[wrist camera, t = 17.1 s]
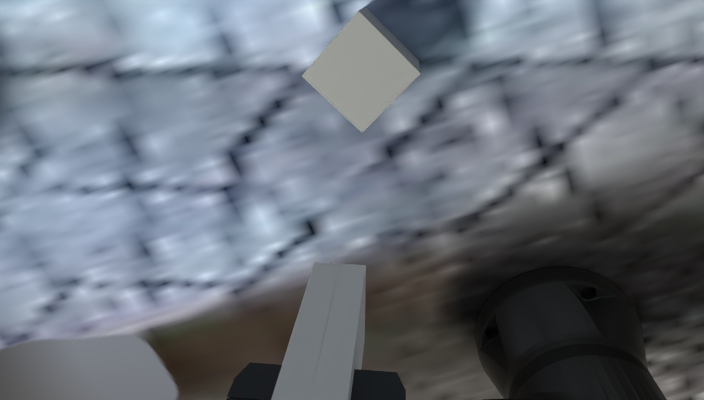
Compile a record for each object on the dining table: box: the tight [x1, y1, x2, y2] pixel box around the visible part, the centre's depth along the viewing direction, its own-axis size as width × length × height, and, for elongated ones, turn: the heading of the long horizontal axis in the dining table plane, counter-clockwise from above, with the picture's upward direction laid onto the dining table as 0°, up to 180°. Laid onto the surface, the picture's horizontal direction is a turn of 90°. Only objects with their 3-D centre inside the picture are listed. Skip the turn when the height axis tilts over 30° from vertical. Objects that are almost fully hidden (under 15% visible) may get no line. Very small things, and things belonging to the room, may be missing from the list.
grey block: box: [302, 7, 421, 132], centre depth 37 cm, size 6×6×6 cm
